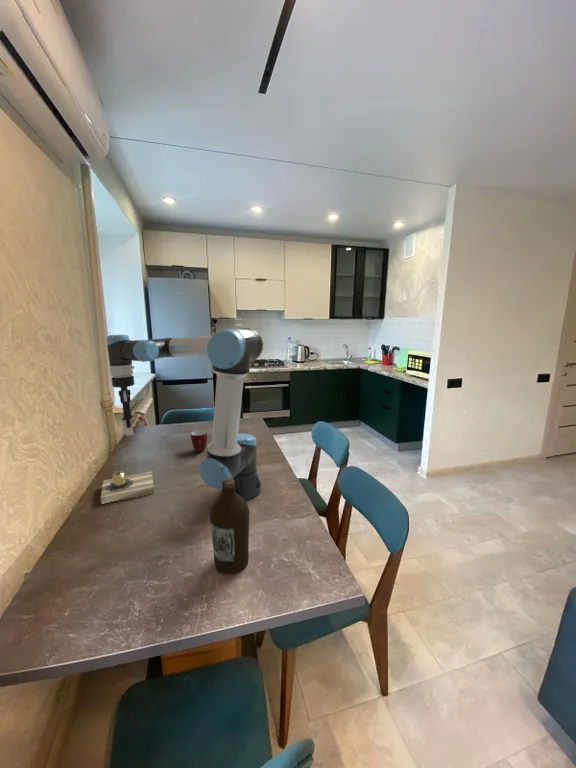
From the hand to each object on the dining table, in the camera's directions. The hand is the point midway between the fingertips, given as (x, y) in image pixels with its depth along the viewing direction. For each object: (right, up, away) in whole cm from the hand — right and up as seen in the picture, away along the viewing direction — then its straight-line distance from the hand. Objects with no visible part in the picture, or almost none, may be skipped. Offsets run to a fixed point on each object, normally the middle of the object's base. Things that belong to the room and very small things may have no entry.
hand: (129, 434), depth 123 cm
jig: (-1, -23, +2) cm, 23 cm away
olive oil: (+47, -31, -35) cm, 66 cm away
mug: (+17, -15, +38) cm, 44 cm away
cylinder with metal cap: (-4, -23, 0) cm, 23 cm away
